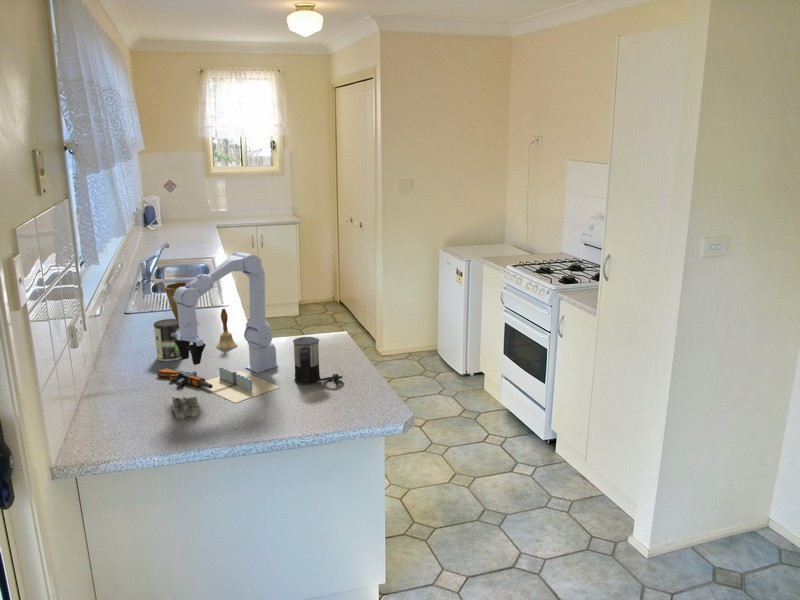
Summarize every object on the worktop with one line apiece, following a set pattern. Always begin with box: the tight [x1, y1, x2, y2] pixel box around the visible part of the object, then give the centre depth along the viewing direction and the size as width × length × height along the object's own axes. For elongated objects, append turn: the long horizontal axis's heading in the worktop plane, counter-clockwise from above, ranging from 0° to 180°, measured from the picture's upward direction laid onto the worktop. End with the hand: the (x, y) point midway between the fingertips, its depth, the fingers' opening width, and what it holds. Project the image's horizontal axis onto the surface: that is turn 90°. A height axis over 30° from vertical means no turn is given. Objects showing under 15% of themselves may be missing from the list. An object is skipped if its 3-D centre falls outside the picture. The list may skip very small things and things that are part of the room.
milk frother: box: [292, 336, 343, 385], centre depth 230 cm, size 14×16×15 cm
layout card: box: [200, 370, 280, 404], centre depth 227 cm, size 18×24×1 cm
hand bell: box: [215, 308, 238, 351], centre depth 267 cm, size 8×8×16 cm
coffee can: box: [153, 318, 182, 362], centre depth 255 cm, size 10×10×14 cm
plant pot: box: [164, 281, 198, 319], centre depth 307 cm, size 15×15×16 cm
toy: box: [156, 367, 213, 388], centre depth 230 cm, size 2×26×10 cm
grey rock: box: [172, 396, 200, 420], centre depth 206 cm, size 11×8×4 cm
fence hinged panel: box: [233, 371, 253, 391], centre depth 224 cm, size 10×1×4 cm, turn 48°
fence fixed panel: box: [218, 366, 234, 384], centre depth 230 cm, size 8×1×4 cm, turn 48°
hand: (191, 361), depth 222 cm, fingers open, 7 cm apart
